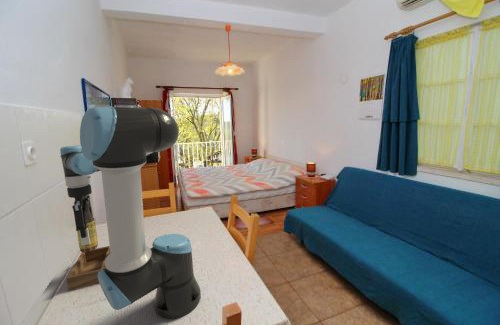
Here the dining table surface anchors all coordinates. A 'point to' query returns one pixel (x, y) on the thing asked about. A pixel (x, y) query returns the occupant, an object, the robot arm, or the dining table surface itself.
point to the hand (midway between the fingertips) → (88, 240)
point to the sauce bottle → (92, 233)
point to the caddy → (87, 268)
